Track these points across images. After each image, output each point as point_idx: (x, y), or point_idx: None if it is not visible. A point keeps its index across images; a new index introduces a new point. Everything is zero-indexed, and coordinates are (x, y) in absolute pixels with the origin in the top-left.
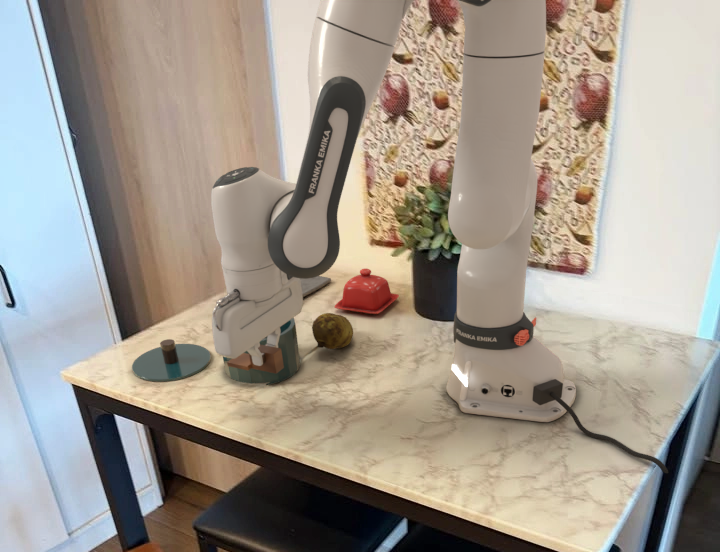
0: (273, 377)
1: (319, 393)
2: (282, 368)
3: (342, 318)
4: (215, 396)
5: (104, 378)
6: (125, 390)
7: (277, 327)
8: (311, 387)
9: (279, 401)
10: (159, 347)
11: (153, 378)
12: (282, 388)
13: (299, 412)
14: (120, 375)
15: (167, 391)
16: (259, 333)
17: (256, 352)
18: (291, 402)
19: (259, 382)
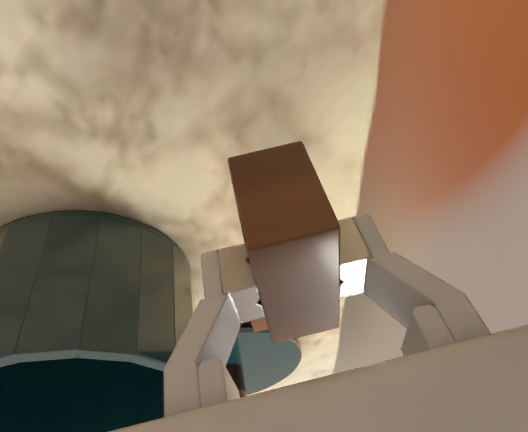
0: (115, 229)
1: (15, 60)
2: (242, 155)
3: None
4: None
5: (318, 372)
6: (333, 341)
7: (233, 416)
8: (21, 118)
9: (173, 132)
10: None
11: (295, 346)
12: (114, 181)
13: (174, 16)
14: (300, 369)
15: None
16: (515, 411)
17: (436, 278)
18: (148, 97)
19: (156, 237)
